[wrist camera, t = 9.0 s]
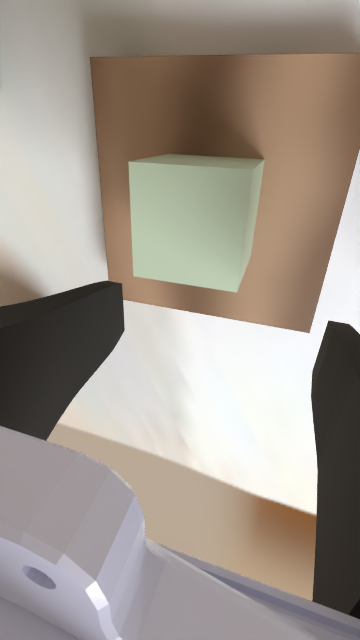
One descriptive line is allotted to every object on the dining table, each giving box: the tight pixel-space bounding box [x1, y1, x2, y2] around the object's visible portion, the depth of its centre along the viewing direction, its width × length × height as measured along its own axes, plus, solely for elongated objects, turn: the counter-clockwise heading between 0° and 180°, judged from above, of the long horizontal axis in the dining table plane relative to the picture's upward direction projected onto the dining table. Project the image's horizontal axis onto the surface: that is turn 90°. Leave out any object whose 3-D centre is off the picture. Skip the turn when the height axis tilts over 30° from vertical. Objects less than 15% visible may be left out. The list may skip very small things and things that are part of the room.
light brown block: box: [90, 53, 360, 333], centre depth 17 cm, size 12×12×2 cm
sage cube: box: [128, 154, 265, 293], centre depth 15 cm, size 4×4×4 cm
